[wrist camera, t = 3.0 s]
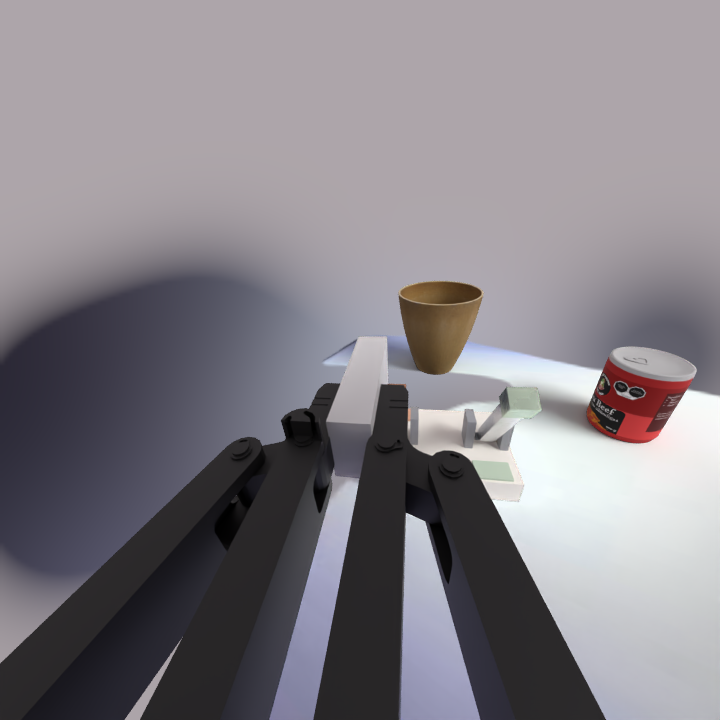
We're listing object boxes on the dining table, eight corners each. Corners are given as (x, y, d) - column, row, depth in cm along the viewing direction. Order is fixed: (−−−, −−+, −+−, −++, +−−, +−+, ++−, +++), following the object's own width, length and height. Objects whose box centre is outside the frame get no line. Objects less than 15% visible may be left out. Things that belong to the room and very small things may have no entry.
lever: (492, 430, 37) (537, 387, 24) (494, 446, 36) (542, 410, 23) (473, 429, 37) (506, 386, 24) (474, 444, 36) (510, 409, 23)
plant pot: (449, 395, 50) (457, 310, 42) (385, 369, 59) (381, 295, 52) (485, 361, 59) (497, 285, 51) (424, 343, 68) (426, 276, 60)
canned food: (577, 404, 45) (601, 344, 40) (639, 411, 43) (673, 348, 37) (595, 439, 39) (626, 373, 34) (669, 449, 37) (715, 380, 31)
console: (493, 427, 42) (502, 388, 39) (519, 501, 32) (533, 457, 29) (381, 422, 46) (379, 384, 42) (372, 487, 35) (368, 446, 32)
